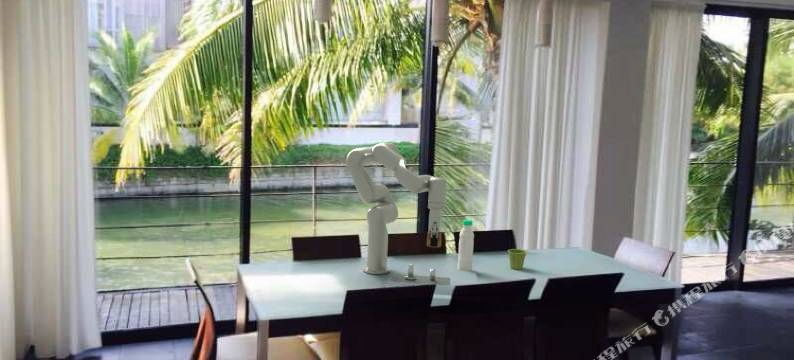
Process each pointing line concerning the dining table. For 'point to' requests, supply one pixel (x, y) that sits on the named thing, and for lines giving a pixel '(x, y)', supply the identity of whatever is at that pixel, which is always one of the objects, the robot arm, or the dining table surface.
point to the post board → (422, 279)
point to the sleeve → (437, 237)
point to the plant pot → (517, 258)
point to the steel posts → (412, 277)
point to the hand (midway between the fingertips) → (433, 244)
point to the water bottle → (466, 247)
